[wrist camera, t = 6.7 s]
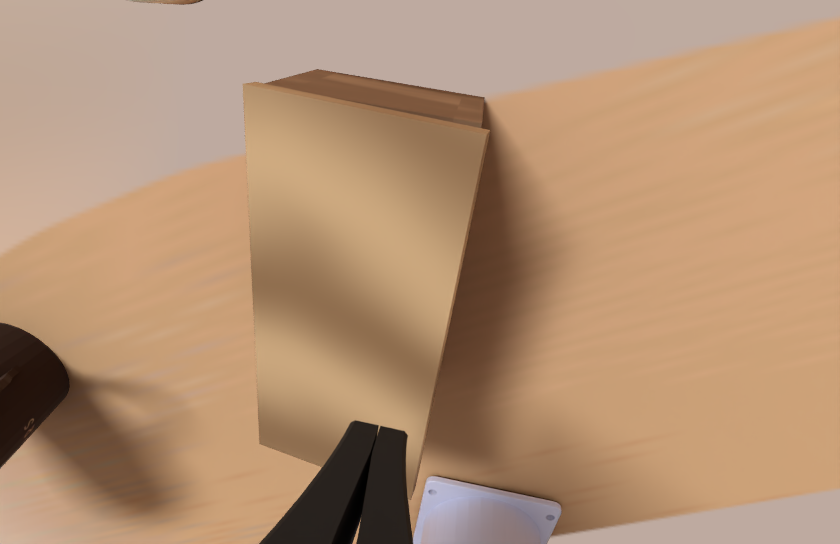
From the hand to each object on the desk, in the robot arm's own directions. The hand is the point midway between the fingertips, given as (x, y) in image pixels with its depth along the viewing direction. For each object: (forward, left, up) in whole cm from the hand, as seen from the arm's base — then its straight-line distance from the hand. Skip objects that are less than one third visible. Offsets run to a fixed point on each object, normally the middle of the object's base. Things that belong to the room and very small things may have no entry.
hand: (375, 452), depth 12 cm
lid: (0, +2, -5) cm, 5 cm away
